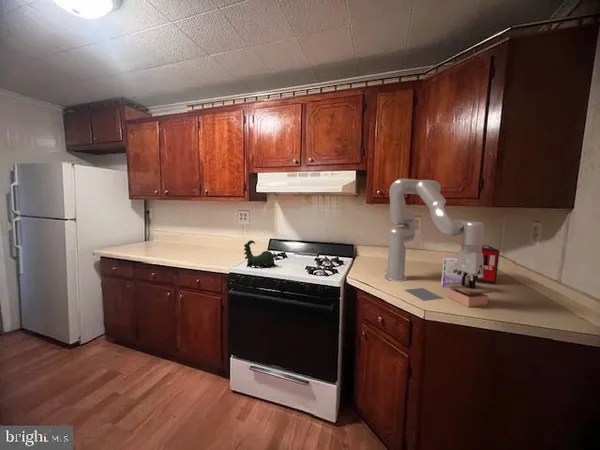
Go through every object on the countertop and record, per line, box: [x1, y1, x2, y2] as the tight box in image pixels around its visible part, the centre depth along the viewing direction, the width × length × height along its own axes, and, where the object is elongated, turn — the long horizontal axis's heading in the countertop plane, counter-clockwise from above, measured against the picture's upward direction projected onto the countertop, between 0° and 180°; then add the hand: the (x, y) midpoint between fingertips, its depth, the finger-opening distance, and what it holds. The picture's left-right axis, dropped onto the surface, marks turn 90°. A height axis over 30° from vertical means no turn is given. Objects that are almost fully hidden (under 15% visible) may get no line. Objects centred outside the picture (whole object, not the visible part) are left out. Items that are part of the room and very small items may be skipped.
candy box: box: [440, 256, 470, 289], centre depth 131 cm, size 14×6×16 cm, turn 66°
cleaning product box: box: [476, 244, 500, 285], centre depth 147 cm, size 16×9×20 cm, turn 159°
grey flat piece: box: [404, 287, 445, 302], centre depth 122 cm, size 14×12×1 cm
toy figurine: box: [243, 240, 277, 268], centre depth 170 cm, size 9×19×25 cm
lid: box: [447, 276, 492, 295], centre depth 113 cm, size 12×12×6 cm
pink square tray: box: [447, 288, 489, 308], centre depth 114 cm, size 11×11×5 cm
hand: (468, 286), depth 113 cm, fingers closed on lid, 2 cm apart
